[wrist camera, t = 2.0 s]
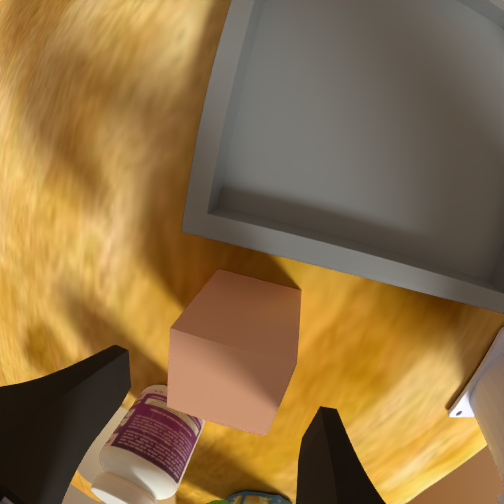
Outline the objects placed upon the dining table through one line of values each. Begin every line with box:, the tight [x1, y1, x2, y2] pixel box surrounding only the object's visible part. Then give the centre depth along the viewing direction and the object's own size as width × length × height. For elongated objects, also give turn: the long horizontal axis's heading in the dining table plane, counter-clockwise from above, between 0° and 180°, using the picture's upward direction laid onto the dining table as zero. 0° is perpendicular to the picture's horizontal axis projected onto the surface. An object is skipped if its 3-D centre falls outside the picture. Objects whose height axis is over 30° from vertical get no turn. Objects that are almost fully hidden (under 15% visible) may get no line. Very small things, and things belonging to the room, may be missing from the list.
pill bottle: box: [91, 385, 205, 504], centre depth 15 cm, size 5×5×10 cm
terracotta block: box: [167, 269, 301, 436], centre depth 13 cm, size 4×4×6 cm
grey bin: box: [181, 0, 504, 314], centre depth 10 cm, size 17×17×2 cm
